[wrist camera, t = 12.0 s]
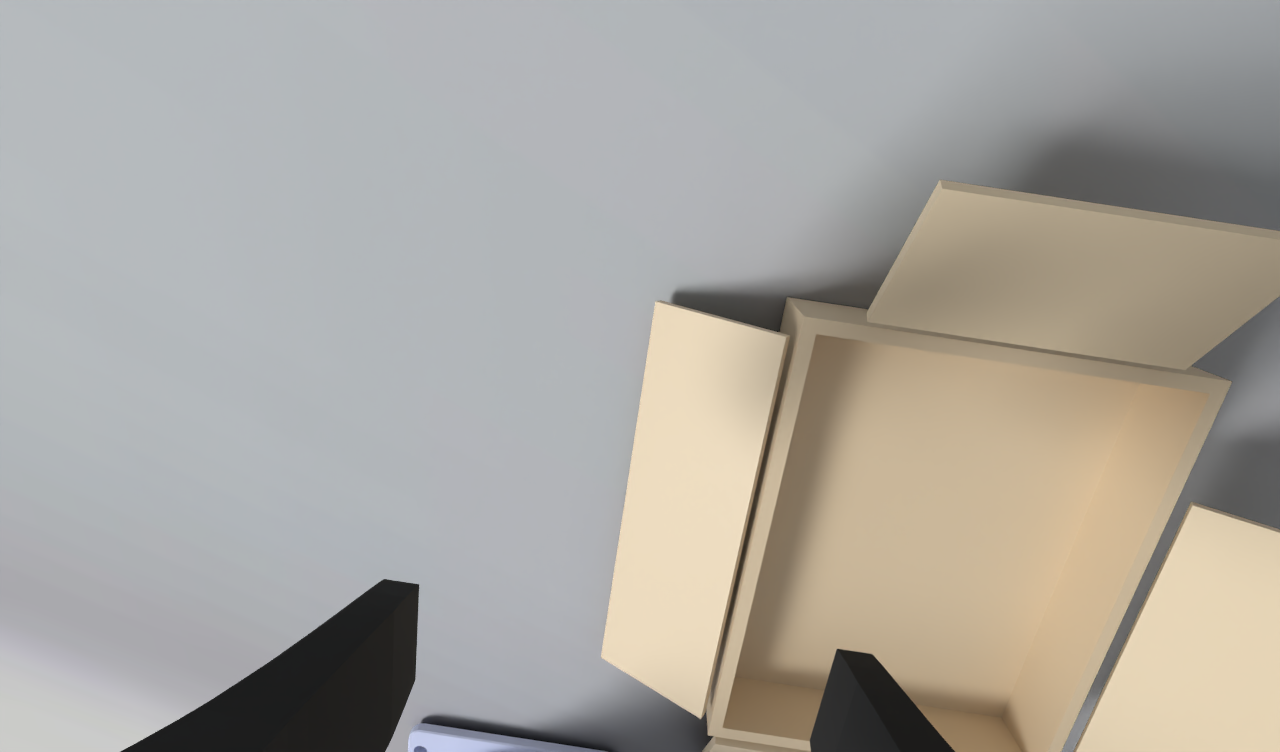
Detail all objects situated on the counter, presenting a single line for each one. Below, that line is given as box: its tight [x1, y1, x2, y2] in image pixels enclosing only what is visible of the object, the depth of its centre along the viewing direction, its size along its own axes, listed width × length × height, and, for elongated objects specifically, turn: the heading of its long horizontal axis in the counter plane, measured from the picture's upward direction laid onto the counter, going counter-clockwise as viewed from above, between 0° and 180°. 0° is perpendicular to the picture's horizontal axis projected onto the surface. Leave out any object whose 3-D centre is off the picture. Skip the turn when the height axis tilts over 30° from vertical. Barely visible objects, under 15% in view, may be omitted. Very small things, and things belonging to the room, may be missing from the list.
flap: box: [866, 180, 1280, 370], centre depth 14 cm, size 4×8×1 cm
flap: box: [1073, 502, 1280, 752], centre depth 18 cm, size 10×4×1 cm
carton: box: [601, 297, 1232, 752], centre depth 20 cm, size 18×15×3 cm
